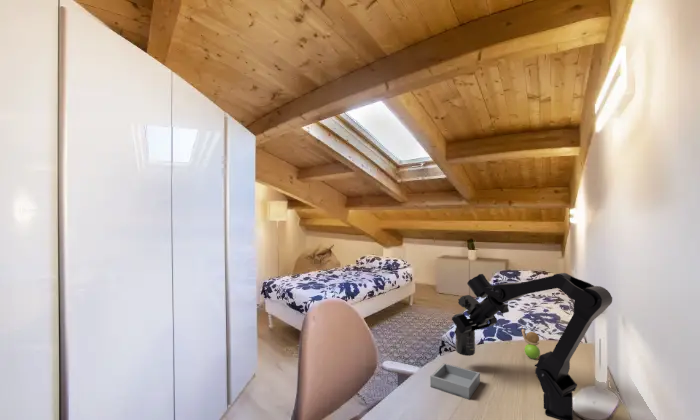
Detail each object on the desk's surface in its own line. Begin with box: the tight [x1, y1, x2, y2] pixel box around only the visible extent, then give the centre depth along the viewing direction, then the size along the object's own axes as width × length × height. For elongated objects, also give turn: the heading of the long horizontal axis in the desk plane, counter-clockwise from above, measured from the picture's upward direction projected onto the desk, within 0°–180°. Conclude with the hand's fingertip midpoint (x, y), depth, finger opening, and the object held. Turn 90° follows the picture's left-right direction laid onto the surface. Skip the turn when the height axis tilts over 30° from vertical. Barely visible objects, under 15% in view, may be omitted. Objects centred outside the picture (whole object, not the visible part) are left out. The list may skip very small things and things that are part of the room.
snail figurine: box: [521, 325, 541, 360], centre depth 128 cm, size 5×6×12 cm
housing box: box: [430, 362, 481, 400], centre depth 106 cm, size 12×12×4 cm
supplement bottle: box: [454, 327, 476, 357], centre depth 118 cm, size 7×7×12 cm
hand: (461, 331), depth 120 cm, fingers closed on supplement bottle, 7 cm apart
